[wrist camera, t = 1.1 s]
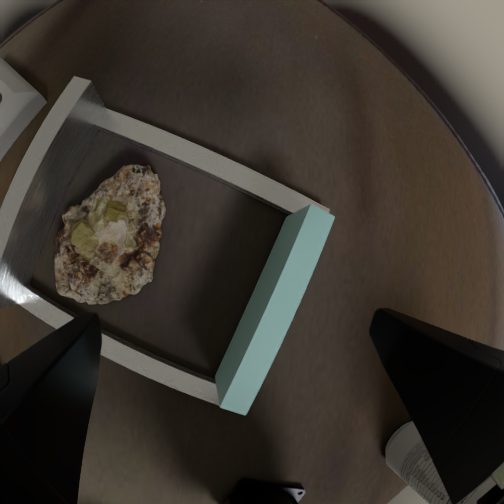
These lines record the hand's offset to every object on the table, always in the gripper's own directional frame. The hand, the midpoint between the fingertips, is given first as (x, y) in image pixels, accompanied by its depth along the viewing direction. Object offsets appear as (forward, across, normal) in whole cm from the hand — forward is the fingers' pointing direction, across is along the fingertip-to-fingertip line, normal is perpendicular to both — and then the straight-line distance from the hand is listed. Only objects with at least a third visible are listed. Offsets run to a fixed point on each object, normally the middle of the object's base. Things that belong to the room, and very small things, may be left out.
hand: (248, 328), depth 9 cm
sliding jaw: (+10, -4, +5) cm, 12 cm away
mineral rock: (+14, +7, +2) cm, 15 cm away
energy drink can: (+4, -19, +19) cm, 27 cm away
